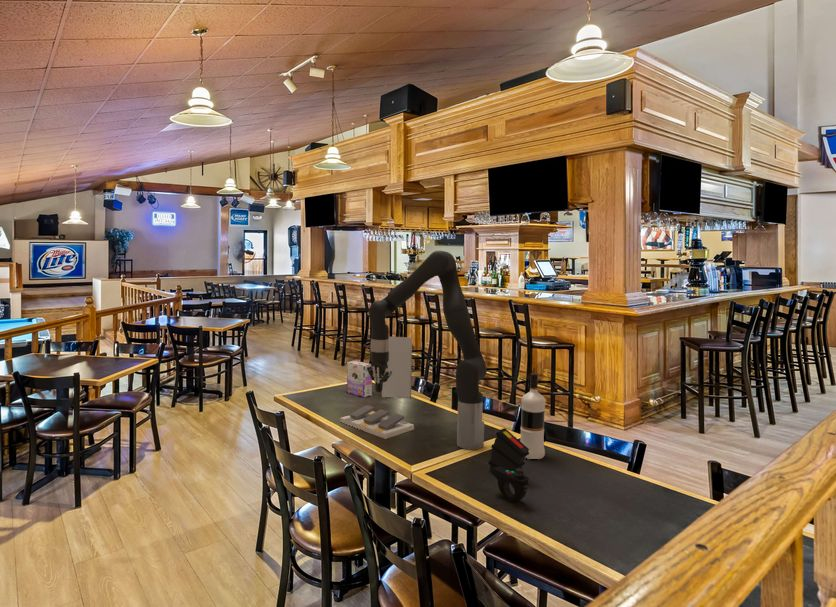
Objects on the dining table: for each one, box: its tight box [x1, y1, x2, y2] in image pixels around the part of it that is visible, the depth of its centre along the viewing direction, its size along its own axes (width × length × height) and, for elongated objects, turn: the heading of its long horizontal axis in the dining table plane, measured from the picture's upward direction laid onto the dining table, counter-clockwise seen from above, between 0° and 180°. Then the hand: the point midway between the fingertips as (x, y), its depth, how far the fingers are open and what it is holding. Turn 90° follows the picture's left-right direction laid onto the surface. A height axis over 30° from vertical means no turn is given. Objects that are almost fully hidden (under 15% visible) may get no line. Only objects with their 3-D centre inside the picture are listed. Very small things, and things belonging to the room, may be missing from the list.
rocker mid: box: [363, 408, 390, 424], centre depth 215 cm, size 5×10×1 cm, turn 137°
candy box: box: [346, 360, 373, 398], centre depth 264 cm, size 14×6×16 cm, turn 46°
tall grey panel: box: [381, 336, 413, 399], centre depth 261 cm, size 14×6×30 cm, turn 84°
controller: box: [491, 466, 530, 502], centre depth 152 cm, size 4×12×10 cm, turn 39°
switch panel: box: [339, 410, 415, 440], centre depth 216 cm, size 28×16×3 cm, turn 47°
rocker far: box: [348, 404, 376, 419], centre depth 222 cm, size 5×10×1 cm, turn 137°
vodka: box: [519, 372, 546, 460], centre depth 185 cm, size 9×9×30 cm
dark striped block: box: [487, 427, 529, 475], centre depth 168 cm, size 4×13×15 cm, turn 45°
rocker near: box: [378, 413, 405, 430], centre depth 209 cm, size 5×10×1 cm, turn 137°
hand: (378, 391), depth 211 cm, fingers closed
